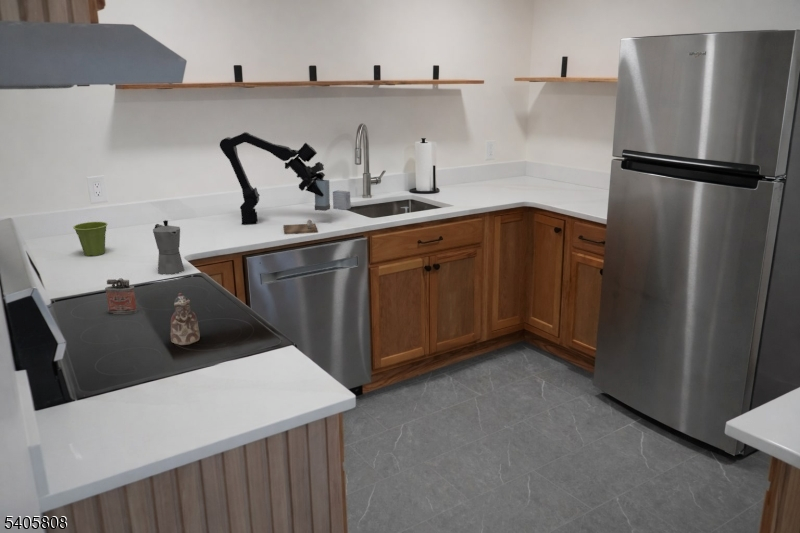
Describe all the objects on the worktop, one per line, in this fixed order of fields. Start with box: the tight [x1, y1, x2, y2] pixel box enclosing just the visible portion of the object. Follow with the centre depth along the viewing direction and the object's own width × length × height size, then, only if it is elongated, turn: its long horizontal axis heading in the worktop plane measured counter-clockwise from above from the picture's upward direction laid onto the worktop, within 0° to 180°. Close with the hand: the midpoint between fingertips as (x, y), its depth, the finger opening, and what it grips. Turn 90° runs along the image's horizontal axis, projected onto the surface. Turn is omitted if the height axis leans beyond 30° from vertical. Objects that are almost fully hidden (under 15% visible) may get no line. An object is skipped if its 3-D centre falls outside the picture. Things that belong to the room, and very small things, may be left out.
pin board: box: [282, 219, 319, 235], centre depth 284 cm, size 14×13×5 cm
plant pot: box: [72, 221, 108, 257], centre depth 249 cm, size 12×12×11 cm
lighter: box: [104, 277, 138, 315], centre depth 189 cm, size 8×3×10 cm, turn 92°
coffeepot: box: [152, 219, 185, 275], centre depth 227 cm, size 15×9×18 cm, turn 44°
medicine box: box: [332, 189, 352, 211], centre depth 327 cm, size 8×4×9 cm, turn 58°
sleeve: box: [314, 179, 331, 212], centre depth 294 cm, size 5×5×13 cm
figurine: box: [170, 292, 201, 346], centre depth 169 cm, size 7×7×12 cm
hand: (325, 194), depth 293 cm, fingers closed on sleeve, 5 cm apart
